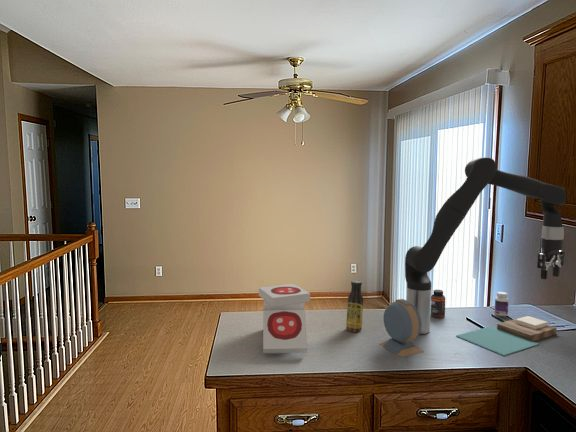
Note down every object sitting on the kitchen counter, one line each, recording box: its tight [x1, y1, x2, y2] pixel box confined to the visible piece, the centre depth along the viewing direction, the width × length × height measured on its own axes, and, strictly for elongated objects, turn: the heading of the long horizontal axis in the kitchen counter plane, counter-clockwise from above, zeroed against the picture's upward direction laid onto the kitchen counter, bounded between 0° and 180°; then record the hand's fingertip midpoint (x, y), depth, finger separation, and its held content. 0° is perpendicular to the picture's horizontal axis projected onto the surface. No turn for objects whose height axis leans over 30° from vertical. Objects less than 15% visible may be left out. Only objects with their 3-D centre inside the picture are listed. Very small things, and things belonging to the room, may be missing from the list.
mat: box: [455, 325, 540, 357], centre depth 162 cm, size 20×20×1 cm
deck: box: [496, 316, 557, 342], centre depth 171 cm, size 16×14×2 cm
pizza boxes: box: [258, 283, 311, 354], centre depth 160 cm, size 19×30×18 cm, turn 3°
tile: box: [515, 315, 549, 329], centre depth 172 cm, size 8×8×2 cm
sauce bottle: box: [345, 279, 364, 333], centre depth 172 cm, size 7×6×20 cm
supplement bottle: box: [430, 289, 446, 319], centre depth 189 cm, size 6×6×11 cm
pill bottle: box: [493, 291, 510, 317], centre depth 191 cm, size 5×5×10 cm
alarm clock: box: [379, 298, 425, 358], centre depth 155 cm, size 14×10×18 cm
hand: (549, 277), depth 175 cm, fingers open, 7 cm apart
